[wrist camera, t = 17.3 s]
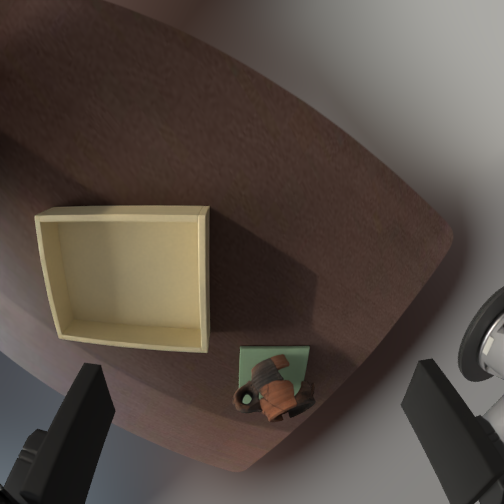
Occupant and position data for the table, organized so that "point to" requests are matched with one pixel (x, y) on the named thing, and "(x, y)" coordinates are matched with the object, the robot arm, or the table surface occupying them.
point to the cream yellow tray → (128, 275)
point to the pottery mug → (273, 391)
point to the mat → (259, 353)
